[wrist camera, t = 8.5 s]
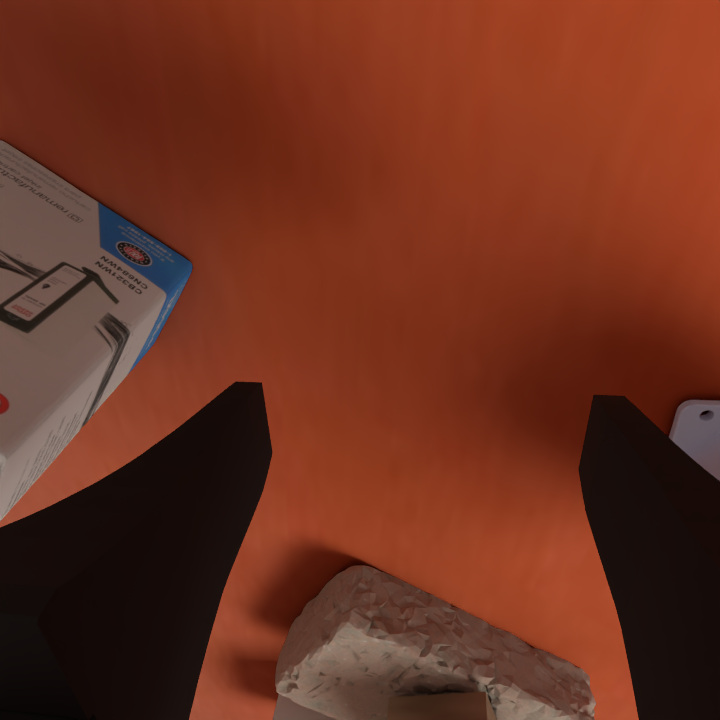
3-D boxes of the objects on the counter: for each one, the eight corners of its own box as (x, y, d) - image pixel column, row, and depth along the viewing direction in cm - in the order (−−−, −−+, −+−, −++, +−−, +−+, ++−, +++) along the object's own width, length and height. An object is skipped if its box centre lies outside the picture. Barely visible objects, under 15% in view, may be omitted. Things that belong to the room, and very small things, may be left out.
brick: (596, 666, 34) (615, 754, 30) (506, 722, 39) (512, 805, 35) (352, 543, 31) (338, 622, 27) (284, 617, 36) (264, 695, 32)
